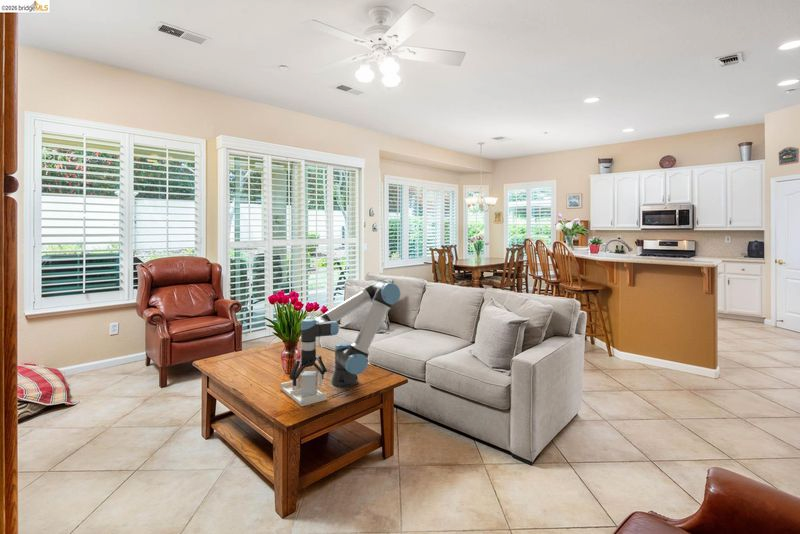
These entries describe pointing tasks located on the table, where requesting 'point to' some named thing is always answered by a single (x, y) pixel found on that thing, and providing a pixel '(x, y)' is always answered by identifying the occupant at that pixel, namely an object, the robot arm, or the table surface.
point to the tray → (296, 396)
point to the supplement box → (308, 384)
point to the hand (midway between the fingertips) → (308, 388)
